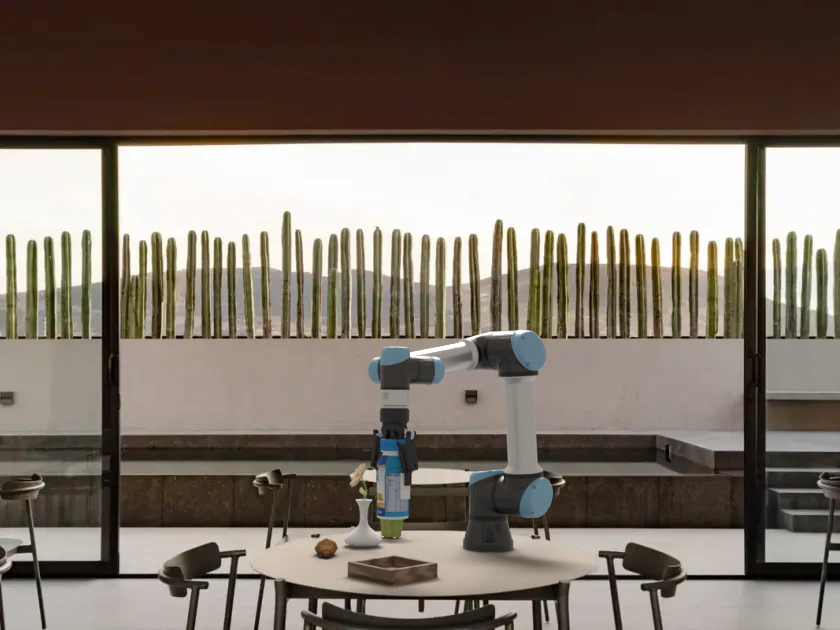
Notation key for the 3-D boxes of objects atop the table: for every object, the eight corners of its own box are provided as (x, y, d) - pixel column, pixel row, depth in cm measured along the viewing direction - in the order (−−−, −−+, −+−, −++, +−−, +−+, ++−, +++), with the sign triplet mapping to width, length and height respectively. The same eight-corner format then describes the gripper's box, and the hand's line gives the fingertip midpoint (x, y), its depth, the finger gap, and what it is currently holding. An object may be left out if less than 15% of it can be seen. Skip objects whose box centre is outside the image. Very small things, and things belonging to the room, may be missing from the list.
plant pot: (393, 534, 315) (394, 507, 316) (412, 538, 308) (412, 510, 308) (370, 536, 309) (371, 509, 310) (389, 540, 302) (389, 512, 302)
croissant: (339, 559, 268) (339, 541, 269) (314, 560, 267) (315, 541, 268) (336, 551, 282) (337, 534, 282) (313, 552, 281) (313, 534, 281)
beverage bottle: (398, 521, 239) (399, 439, 240) (369, 518, 243) (370, 438, 245) (415, 517, 246) (416, 438, 248) (386, 515, 250) (387, 437, 252)
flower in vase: (346, 543, 296) (347, 460, 298) (383, 543, 296) (384, 461, 298) (341, 550, 283) (342, 463, 285) (380, 550, 283) (381, 464, 285)
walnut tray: (394, 568, 255) (394, 554, 255) (437, 577, 243) (437, 563, 244) (347, 576, 244) (347, 561, 244) (390, 585, 232) (390, 570, 232)
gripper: (356, 406, 251) (355, 495, 250) (412, 408, 237) (411, 502, 235) (378, 406, 257) (377, 493, 255) (433, 408, 242) (432, 500, 240)
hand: (393, 497), depth 245 cm, fingers closed on beverage bottle, 8 cm apart
